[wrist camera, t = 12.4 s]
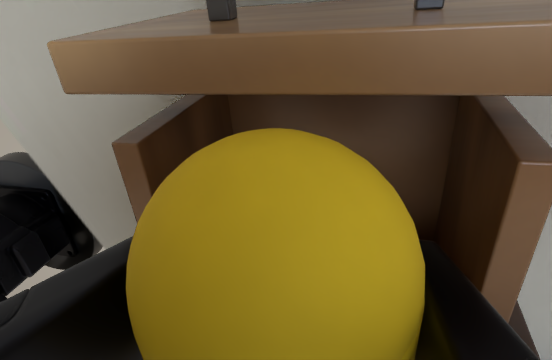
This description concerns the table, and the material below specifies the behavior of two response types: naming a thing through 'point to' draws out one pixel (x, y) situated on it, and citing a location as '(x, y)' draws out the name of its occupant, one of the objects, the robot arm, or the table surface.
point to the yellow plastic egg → (276, 256)
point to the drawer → (354, 105)
